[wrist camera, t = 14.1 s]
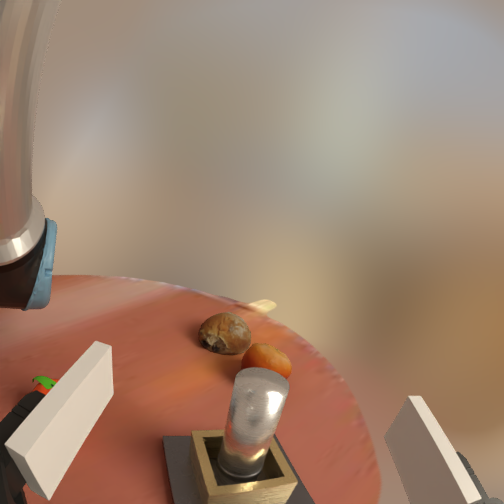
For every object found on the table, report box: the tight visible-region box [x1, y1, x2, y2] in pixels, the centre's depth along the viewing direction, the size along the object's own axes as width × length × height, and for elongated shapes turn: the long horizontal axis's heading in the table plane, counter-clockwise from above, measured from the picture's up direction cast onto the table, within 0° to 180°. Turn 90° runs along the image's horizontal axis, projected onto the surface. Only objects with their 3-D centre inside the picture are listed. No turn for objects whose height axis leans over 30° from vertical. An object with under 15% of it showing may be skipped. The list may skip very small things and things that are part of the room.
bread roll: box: [198, 312, 251, 355], centre depth 57 cm, size 10×10×8 cm
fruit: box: [241, 343, 292, 379], centre depth 46 cm, size 8×8×8 cm
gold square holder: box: [163, 430, 315, 504], centre depth 26 cm, size 14×14×5 cm
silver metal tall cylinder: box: [215, 367, 289, 486], centre depth 24 cm, size 5×5×14 cm
